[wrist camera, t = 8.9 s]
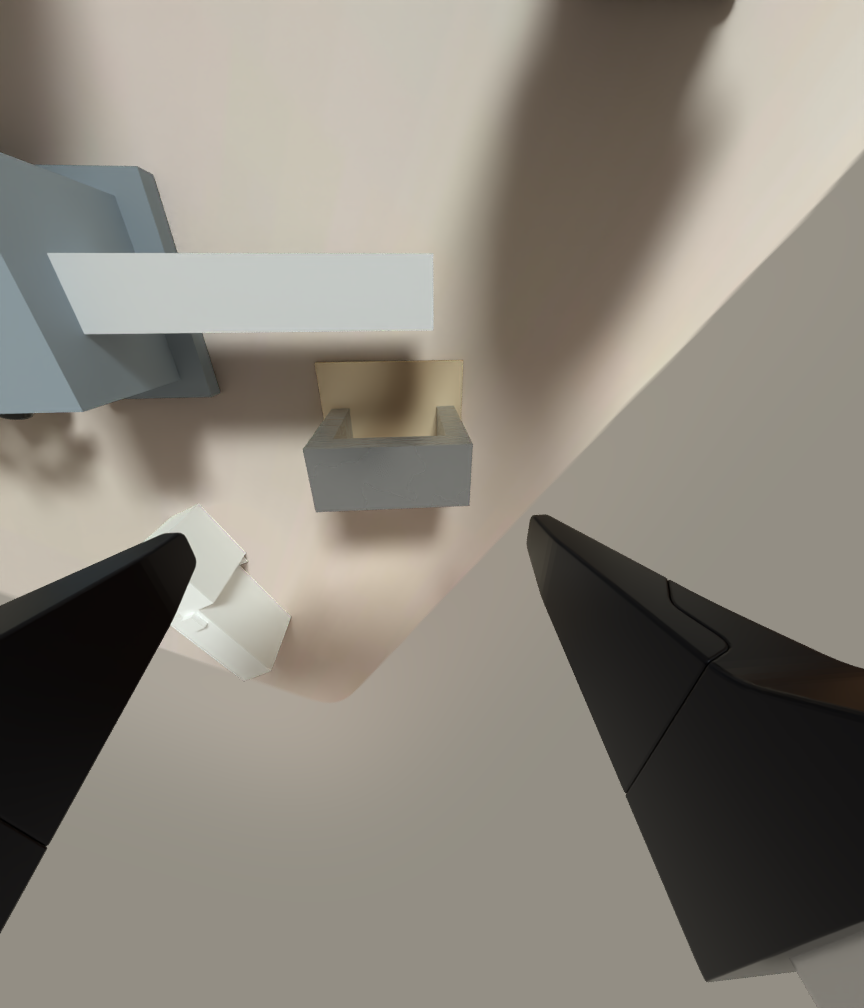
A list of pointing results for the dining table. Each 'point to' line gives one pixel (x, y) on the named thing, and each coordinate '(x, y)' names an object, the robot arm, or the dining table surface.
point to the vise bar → (157, 292)
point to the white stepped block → (225, 600)
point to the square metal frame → (388, 466)
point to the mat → (391, 394)
